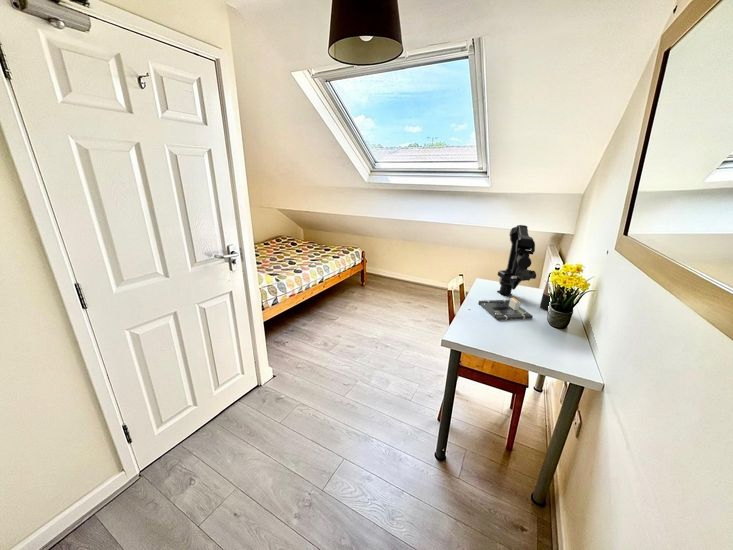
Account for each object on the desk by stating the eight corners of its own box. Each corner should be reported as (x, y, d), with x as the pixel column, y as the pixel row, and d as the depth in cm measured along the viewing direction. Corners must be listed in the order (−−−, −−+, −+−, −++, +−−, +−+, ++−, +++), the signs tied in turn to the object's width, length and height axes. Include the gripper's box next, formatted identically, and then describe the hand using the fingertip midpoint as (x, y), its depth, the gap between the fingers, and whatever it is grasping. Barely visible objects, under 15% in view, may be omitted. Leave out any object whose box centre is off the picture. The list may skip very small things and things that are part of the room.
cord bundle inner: (478, 303, 167) (478, 300, 166) (510, 302, 170) (510, 299, 169) (480, 305, 165) (480, 301, 164) (512, 304, 168) (513, 300, 167)
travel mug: (550, 305, 168) (561, 273, 161) (557, 312, 161) (568, 278, 154) (536, 304, 169) (546, 271, 162) (542, 311, 162) (553, 277, 155)
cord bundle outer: (495, 318, 151) (495, 315, 151) (529, 316, 155) (530, 313, 154) (497, 320, 149) (498, 317, 149) (532, 318, 153) (533, 315, 152)
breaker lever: (508, 305, 162) (510, 297, 160) (512, 305, 162) (514, 297, 160) (514, 310, 157) (516, 301, 156) (518, 309, 158) (520, 301, 156)
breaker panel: (480, 305, 164) (481, 302, 164) (512, 304, 168) (513, 301, 167) (494, 318, 151) (495, 315, 151) (529, 316, 155) (530, 313, 154)
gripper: (513, 267, 144) (505, 296, 150) (547, 267, 147) (539, 295, 153) (500, 260, 154) (493, 287, 160) (532, 259, 157) (525, 286, 163)
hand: (513, 289), depth 158 cm, fingers closed
